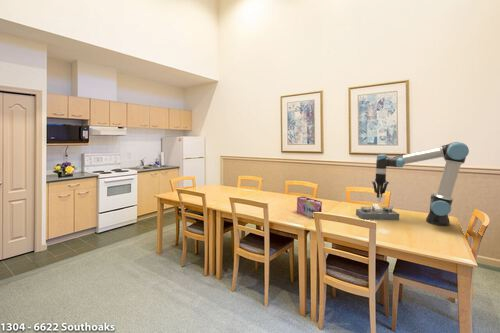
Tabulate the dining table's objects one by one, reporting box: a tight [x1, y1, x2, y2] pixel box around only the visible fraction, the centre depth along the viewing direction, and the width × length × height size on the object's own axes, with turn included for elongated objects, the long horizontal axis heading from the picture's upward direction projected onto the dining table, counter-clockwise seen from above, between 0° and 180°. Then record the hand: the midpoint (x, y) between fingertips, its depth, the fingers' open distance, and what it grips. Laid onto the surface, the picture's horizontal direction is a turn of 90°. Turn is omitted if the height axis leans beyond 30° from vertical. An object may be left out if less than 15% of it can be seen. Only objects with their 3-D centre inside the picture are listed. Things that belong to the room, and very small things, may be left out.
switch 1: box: [371, 203, 382, 212], centre depth 220 cm, size 5×9×2 cm, turn 179°
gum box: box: [296, 196, 323, 219], centre depth 226 cm, size 24×8×14 cm, turn 33°
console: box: [355, 206, 400, 221], centre depth 219 cm, size 30×14×8 cm, turn 89°
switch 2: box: [381, 205, 394, 210], centre depth 220 cm, size 5×9×2 cm, turn 179°
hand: (379, 201), depth 216 cm, fingers closed
